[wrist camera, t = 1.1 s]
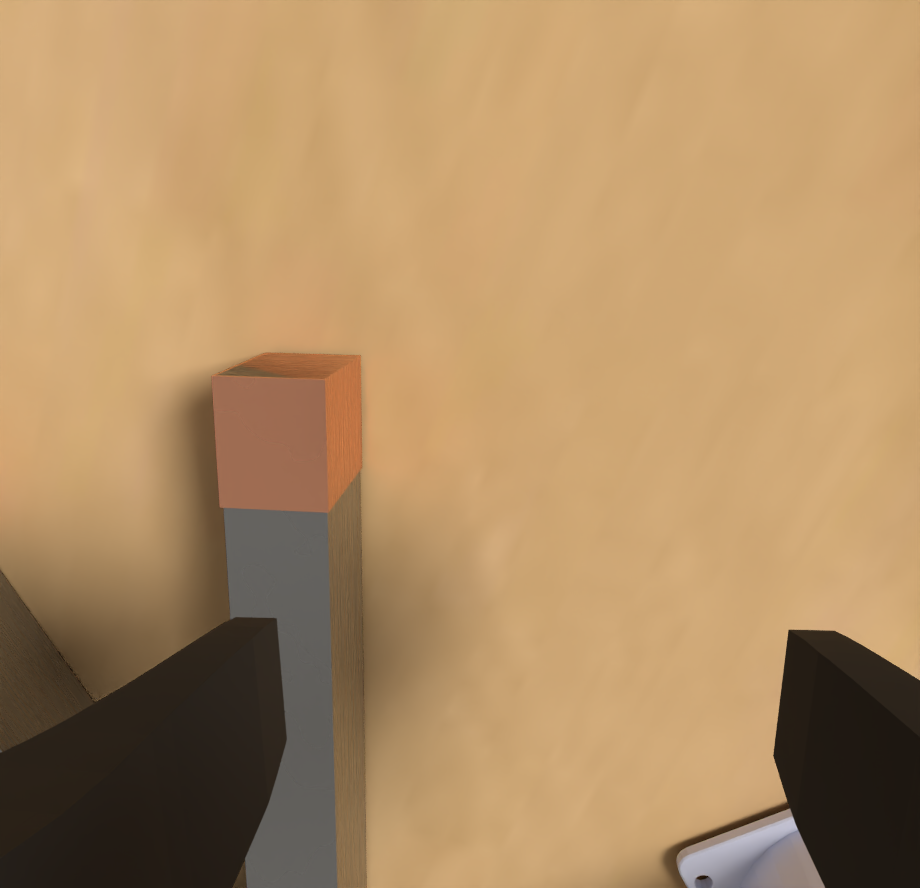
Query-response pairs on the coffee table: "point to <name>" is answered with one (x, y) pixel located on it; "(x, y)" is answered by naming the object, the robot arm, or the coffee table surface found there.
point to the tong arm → (301, 597)
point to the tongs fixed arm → (31, 676)
